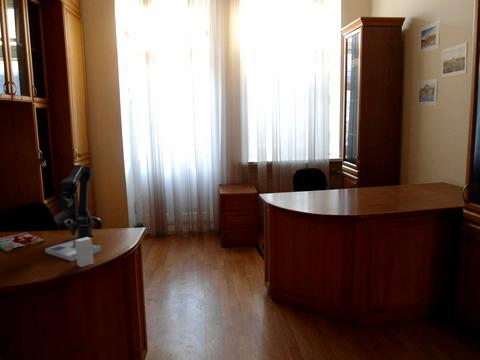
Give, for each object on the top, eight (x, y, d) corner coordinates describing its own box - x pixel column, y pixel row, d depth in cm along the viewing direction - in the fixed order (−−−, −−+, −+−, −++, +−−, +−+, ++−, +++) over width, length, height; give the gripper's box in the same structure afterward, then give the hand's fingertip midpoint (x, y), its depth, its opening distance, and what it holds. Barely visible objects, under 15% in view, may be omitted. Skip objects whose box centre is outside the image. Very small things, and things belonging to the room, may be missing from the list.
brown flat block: (81, 243, 205) (80, 238, 205) (86, 244, 203) (86, 239, 202) (73, 245, 202) (72, 240, 201) (78, 247, 199) (78, 242, 199)
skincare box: (89, 261, 185) (87, 236, 183) (93, 263, 182) (91, 238, 180) (76, 265, 181) (74, 239, 179) (80, 267, 178) (78, 241, 176)
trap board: (74, 243, 211) (74, 238, 210) (100, 251, 199) (100, 245, 198) (45, 252, 198) (44, 246, 197) (71, 261, 186) (71, 255, 185)
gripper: (44, 206, 200) (48, 236, 203) (66, 211, 190) (69, 242, 192) (65, 202, 209) (68, 230, 212) (87, 206, 199) (89, 236, 201)
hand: (73, 235), depth 204 cm, fingers closed
